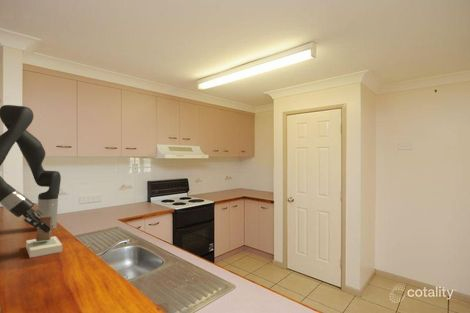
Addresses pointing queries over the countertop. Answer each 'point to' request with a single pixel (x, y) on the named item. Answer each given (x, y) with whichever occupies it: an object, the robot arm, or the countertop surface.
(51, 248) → the plinth
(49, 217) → the walnut block
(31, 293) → the countertop surface
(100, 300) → the countertop surface
